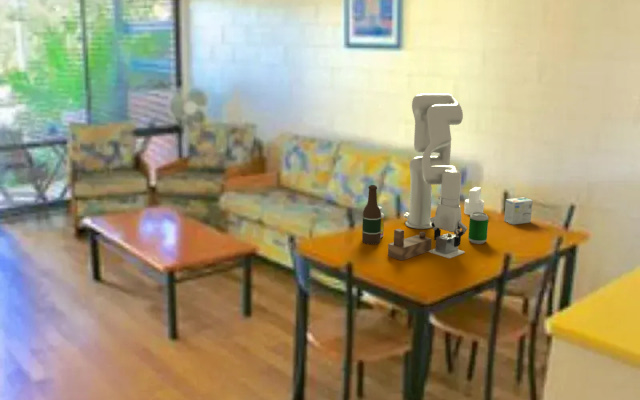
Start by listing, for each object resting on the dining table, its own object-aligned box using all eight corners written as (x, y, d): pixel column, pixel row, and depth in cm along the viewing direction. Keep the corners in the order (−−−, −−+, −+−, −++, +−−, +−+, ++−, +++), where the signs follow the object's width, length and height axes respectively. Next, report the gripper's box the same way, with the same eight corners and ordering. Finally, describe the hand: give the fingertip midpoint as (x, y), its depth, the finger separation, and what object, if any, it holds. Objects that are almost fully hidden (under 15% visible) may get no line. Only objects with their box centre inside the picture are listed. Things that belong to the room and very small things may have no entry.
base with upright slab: (479, 216, 318) (481, 192, 315) (461, 213, 323) (463, 189, 320) (485, 212, 326) (487, 188, 323) (467, 209, 330) (469, 185, 327)
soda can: (486, 245, 277) (489, 217, 274) (468, 243, 279) (470, 216, 276) (486, 239, 284) (488, 212, 281) (468, 238, 286) (469, 211, 283)
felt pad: (428, 252, 268) (428, 250, 268) (444, 246, 274) (444, 245, 274) (449, 258, 261) (449, 256, 261) (464, 252, 267) (464, 251, 267)
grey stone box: (445, 254, 263) (446, 238, 262) (435, 251, 267) (436, 235, 265) (457, 250, 268) (458, 234, 267) (447, 247, 272) (448, 231, 270)
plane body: (401, 260, 258) (402, 233, 255) (387, 255, 263) (388, 229, 260) (430, 250, 270) (432, 224, 267) (417, 246, 275) (418, 220, 272)
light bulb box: (521, 218, 316) (523, 196, 313) (531, 222, 310) (533, 200, 307) (503, 221, 311) (505, 198, 309) (512, 225, 306) (514, 202, 303)
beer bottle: (382, 240, 282) (384, 184, 276) (377, 245, 275) (379, 188, 269) (364, 238, 284) (366, 182, 278) (359, 243, 277) (361, 187, 271)
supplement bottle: (385, 237, 285) (387, 208, 282) (371, 239, 283) (372, 209, 280) (379, 233, 291) (380, 204, 288) (365, 234, 289) (366, 205, 286)
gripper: (426, 198, 266) (423, 239, 271) (462, 208, 254) (459, 250, 259) (437, 195, 271) (435, 235, 276) (473, 204, 259) (470, 246, 263)
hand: (446, 242), depth 267 cm, fingers open, 9 cm apart
